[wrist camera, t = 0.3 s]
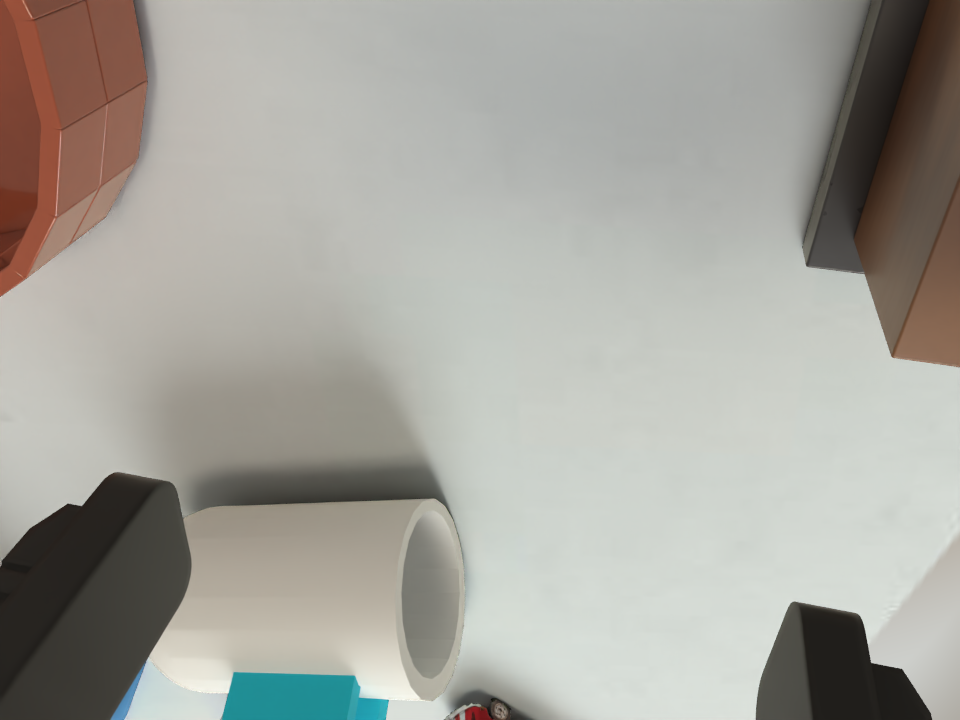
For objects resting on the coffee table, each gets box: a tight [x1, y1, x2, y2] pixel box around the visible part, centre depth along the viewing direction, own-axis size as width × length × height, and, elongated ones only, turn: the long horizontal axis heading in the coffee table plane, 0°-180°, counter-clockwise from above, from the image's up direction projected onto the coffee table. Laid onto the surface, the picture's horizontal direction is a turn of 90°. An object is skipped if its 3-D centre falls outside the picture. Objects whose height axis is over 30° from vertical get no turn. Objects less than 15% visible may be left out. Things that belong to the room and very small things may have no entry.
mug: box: [149, 499, 465, 720], centre depth 35 cm, size 12×9×12 cm
